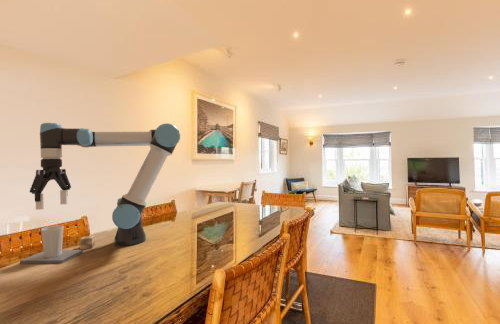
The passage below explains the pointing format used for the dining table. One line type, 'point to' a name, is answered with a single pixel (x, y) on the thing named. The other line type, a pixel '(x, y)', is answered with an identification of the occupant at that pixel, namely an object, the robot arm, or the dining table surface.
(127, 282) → the dining table surface
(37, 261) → the slate board
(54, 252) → the cup
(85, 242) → the oak cube
